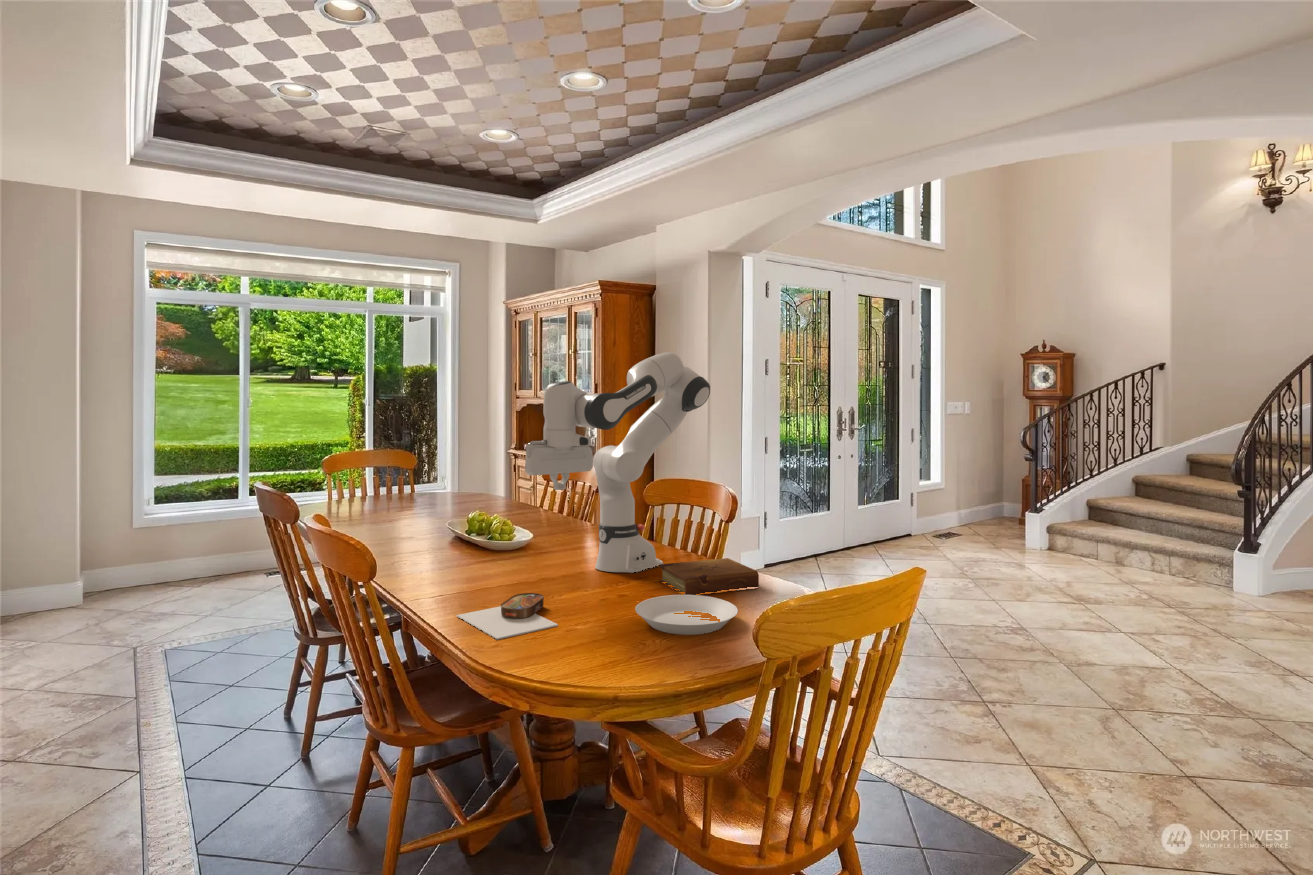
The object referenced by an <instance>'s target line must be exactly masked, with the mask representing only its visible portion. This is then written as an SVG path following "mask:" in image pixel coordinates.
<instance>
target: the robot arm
mask: <svg viewBox="0 0 1313 875" xmlns="http://www.w3.org/2000/svg"><path fill="white" fill-rule="evenodd" d="M626 384H627V385H626V386H625V387H622V388H621V389H620V390H618V391H616V392H602V393H588V392H586V391H584V390H583V389H580V388H579V387H578V386H577V385H575V384H574V383H573V382H572V381H571V380H570V381H569V380H563V381H557V382H556V381H555V382H551V383H550V384H548V385H547V386H546V387H545V389H544V394H543V407H542V408H543V417H544V424H543V429H542V430H543V431H542V432H543V433H542V434H543V439H542V440H532V441H530V442H529V443H528V444H526V446H525V454H526V455H525V462H524V464H525V465H524V472H525V473H526V475H529V476H543V475H549V478H550V480H551V482H552V483H553V490H554V491H561V490H566V489H567V482H568V480H569V479H570V473H571V474H572V473H583V472H585V473H586V472H591V471H592V469H593V468H594V471H595V476H596V483H597V489H598V494H599V505H600V506H599V511H600V512H599V516H600V518H599V522H600V523H599V524H598V539H599V546H598V554H597V558H596V562H595V565H594V568H595V569H597V570H598V571H603V572H606V573H607V572H609V573H627V574H628V573H629V574H633V573H634V572H636V573H639V572H643V571H646V570H648V569H647V568H650V569H652V568H653V567H654V568H656V567H655V566H657V567H659V566H658V565H660V564H664V562H663V560H661V559H659V558H657V554H656V548H655V547H654V545H653V544H652V543H651V542H649V541H648V540H647V539H646V538H644V537H643V536H642V535H641V534H640V532H639V531H641V532H644V531H645V529H646V526H645V524H641V523H639V524H637V523H636V522H635V520H636V519H635V517H636V516H635V513H636V512H635V511H636V510H635V509H636V507H635V506H636V505H635V504H636V503H635V502H636V501H635V497H634V494H633V491H632V488H631V483H633V482H635V481H637V480H639V478H640V477H641V476H642V475H643V472H644V470H645V466H646V465H647V463H648V462H649V460H650V459H651V457H652V456H653V454H654V453H655V452H656V451H657V449H658V448H659V447H660V446H661V445H662V444H663V443H664V442H665V441H666V440H667V439H668V438H669V437H670V436H671V435H672V434H673V433H674V431H675V430H676V429H677V428H678V427H679V426H680V424H681V423H682V422H683V420H684V419H685V418H686V416H687V414H688V413H689V412H692V411H694V410H697V409H698V408H701V407H702V406H704V404H706V402H707V401H708V400H709V397H710V394H711V385H710V383H709V382H708V380H706V379H705V378H704V377H703V376H700V375H699V374H698V373H697V372H696V371H694V370H692V369H691V368H690V367H688V366H685V365H684V364H683V361H682V360H681V358H680V357H679V355H678V354H676V353H674V352H671V351H670V352H669V351H666V352H661V353H658V354H654V355H653V356H650V357H648V358H645V359H643V360H641V361H639V362H638V363H636V364H634V365H633V366H631V368H630V369H628V371H627V374H626ZM660 393H664V395H663V396H662V398H660V399H659V400H657V401H656V402H655V403H653V405H651V406H650V407H648V409H647V410H646V411H644V413H643V414H642V415H641V416H640V417H639V418H638V419H637V420H635V422H634V423H632V425H631V426H630V427H629V430H628V432H627V434H626V436H625V437H624V439H623V440H622V441H621V442H620V443H619V444H618V445H611V444H610V445H606V446H603V447H601V448H600V449H598V450H597V451H596V452H595V454H594V456H593V450H592V447H590V446H591V444H592V439H591V438H590V437H587V436H586V435H585V436H583V435H582V434H578V433H577V432H576V430H577V429H576V428H577V427H580V428H581V427H582V428H591V429H593V428H594V429H599V430H601V431H602V430H603V431H608V430H612V429H613V428H615V427H616V426H617V425H618V424H619V423H620V422H621V420H622V419H623V418H624V417H625V415H626V414H628V413H629V412H630V411H631V410H633V409H635V408H637V407H638V406H639V405H641V404H642V403H644V402H646V401H647V400H648V399H650V398H652V397H654V396H657V395H658V394H660ZM559 474H560V475H561V477H562V478H561V480H560V482H559V480H558V477H559ZM654 568H653V569H654ZM645 569H646V570H645ZM642 570H643V571H642ZM634 574H635V573H634Z"/></svg>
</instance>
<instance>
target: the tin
mask: <svg viewBox="0 0 1313 875" xmlns="http://www.w3.org/2000/svg"><path fill="white" fill-rule="evenodd" d="M544 598H545V597H544V595H543V594H540V593H535V592H524V593H518V594H514V595H512V596H511V597H509V598H507V599H506V600H505V601H504V602H502V603H501V604H500V606H501V615H502V616H503V617H510V618H526V617H530V616H532V615H533V614H537V612H538V611H539V610H541V609H542V608H543V607H544Z"/></svg>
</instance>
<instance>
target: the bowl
mask: <svg viewBox="0 0 1313 875" xmlns="http://www.w3.org/2000/svg"><path fill="white" fill-rule="evenodd" d="M634 609H635V612H636V613H637V615H638V616H640V617H641V618H642V619H643V620H644V621H645V622H646V623H647V624H648V625H649V626H650V627H651V628H653V629H655V630H657V631H660V632H662V633H665V634H666V633H667V634H672V635H684V636H690V635H691V636H692V635H693V636H694V635H705V634H711V633H713V631H714V632H716V630H717V631H719V630H721V629H722V628H723V627H724V626H725V625H726V624H727V623H728V622H730V620H731V619H733V618H734V617H735V616H736V615H738V612H739V608H738V607H737V606H736V605H735V604H734V603H732V602H730V601H727V600H725V599H722V598H719V597H718V598H717V597H713V596H709V595H681V594H671V595H661V596H656V597H651V598H648V599H645V600H642V601H641V602H639V603H637V604H636V605H635V608H634ZM684 611H693V612H695V611H696V612H702V613H709V614H711V615H712V616H716V617H717V619H720V622H718V621H709V620H700V619H710V618H701V617H692V616H701V615H691V614H674V613H684ZM688 616H691V617H688ZM704 633H705V634H704Z"/></svg>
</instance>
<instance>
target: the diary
mask: <svg viewBox="0 0 1313 875" xmlns="http://www.w3.org/2000/svg"><path fill="white" fill-rule="evenodd" d="M659 568H660V569H661V570H662V579H659V582H660V581H661V582H667V583H665V584H666V585H672V586H674V587H672V588H673V589H679V590H680V591H679V590H677V591H678V592H685V594H683V595H696V594H700V593H705V592H717V591H721V590H729V589H739V588H747V587H758V586H759V580H760V578H759V577H760V576H759V572H758V570H756V569H754V568H751V567H749V566H746V565H745V564H742V563H740V562H737V561H735V560H734V559H731V558H728V557H726V558H716V559H715V558H714V559H705V560H704V559H703V560H693V561H683V562H673V563H672V562H671V563H663V564H660V566H659ZM661 582H660V583H661ZM665 584H664V585H665ZM666 585H665V586H666ZM670 587H671V586H670ZM673 589H672V590H673Z"/></svg>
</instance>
